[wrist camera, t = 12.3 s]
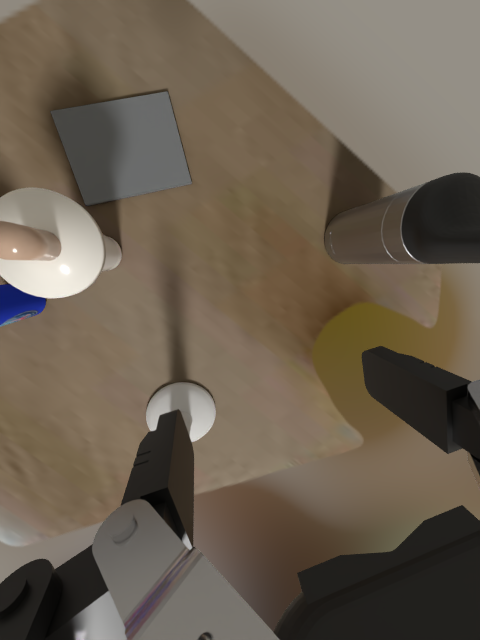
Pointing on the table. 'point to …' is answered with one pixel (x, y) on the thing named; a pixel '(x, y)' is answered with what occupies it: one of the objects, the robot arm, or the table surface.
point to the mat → (123, 147)
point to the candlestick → (184, 407)
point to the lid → (48, 243)
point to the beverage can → (18, 304)
